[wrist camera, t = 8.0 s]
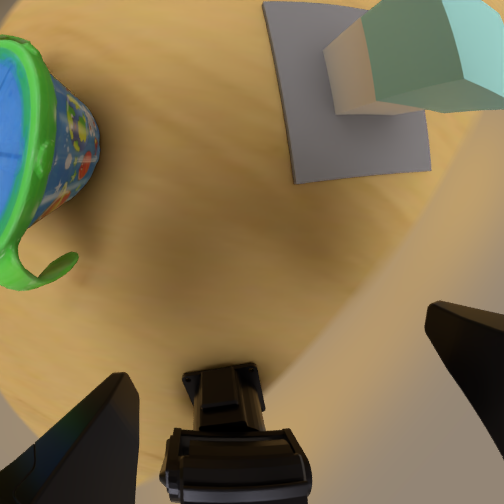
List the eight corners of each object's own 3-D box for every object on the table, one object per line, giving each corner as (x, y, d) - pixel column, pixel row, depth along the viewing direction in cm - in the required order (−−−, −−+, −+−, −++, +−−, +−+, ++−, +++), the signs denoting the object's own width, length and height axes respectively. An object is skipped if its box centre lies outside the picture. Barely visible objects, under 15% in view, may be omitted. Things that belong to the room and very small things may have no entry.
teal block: (443, 113, 12) (525, 109, 6) (376, 100, 11) (464, 78, 6) (429, 38, 10) (499, 13, 4) (360, 17, 10) (427, -32, 4)
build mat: (426, 170, 20) (431, 170, 19) (294, 183, 19) (296, 184, 18) (397, 20, 15) (400, 17, 15) (261, 5, 14) (263, 1, 14)
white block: (393, 115, 17) (447, 106, 12) (335, 114, 17) (382, 99, 11) (381, 55, 16) (428, 32, 10) (322, 50, 15) (361, 16, 10)
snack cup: (7, 86, 13) (-74, 69, 3) (114, 34, 14) (55, -37, 4) (33, 264, 18) (-44, 324, 8) (144, 238, 19) (84, 308, 9)
